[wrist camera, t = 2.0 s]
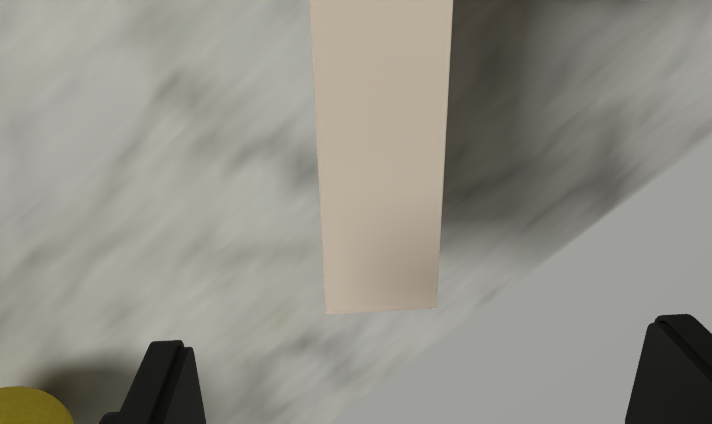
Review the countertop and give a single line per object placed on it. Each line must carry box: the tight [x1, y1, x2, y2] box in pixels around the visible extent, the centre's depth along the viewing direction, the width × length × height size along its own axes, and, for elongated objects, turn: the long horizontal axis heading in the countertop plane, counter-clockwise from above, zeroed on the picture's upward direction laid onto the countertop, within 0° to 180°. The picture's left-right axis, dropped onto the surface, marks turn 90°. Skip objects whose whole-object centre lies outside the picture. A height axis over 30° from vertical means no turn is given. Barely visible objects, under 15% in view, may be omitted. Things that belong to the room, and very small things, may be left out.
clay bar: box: [309, 0, 453, 314], centre depth 17 cm, size 14×4×6 cm, turn 1°
